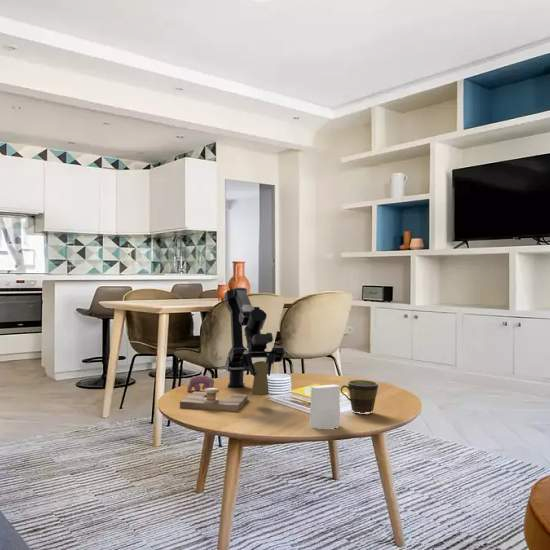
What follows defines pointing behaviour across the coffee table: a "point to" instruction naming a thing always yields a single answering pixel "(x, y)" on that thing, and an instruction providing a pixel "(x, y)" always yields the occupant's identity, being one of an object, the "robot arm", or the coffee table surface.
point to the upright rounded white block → (325, 406)
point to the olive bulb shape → (260, 379)
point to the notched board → (213, 401)
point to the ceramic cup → (362, 395)
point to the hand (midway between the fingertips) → (261, 375)
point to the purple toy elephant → (198, 380)
